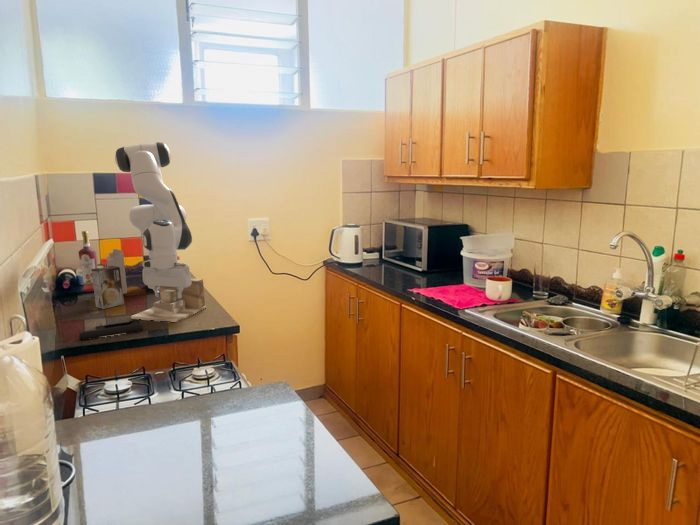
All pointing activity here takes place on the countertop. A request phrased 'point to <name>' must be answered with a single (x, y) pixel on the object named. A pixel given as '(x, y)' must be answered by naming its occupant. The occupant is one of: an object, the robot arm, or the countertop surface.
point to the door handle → (112, 329)
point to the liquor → (87, 262)
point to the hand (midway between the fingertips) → (168, 297)
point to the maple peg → (168, 296)
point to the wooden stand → (177, 304)
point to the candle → (118, 265)
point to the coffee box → (107, 287)
